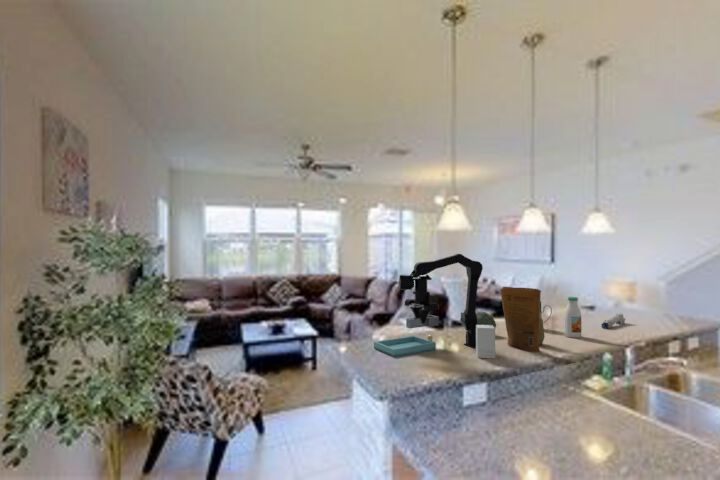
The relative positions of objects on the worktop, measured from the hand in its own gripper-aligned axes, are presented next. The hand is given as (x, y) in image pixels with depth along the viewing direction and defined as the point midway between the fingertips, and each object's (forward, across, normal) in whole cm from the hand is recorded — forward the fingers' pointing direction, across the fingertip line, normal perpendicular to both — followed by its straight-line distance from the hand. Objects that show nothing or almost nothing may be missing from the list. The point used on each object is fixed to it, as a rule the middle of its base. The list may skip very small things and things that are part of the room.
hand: (421, 323), depth 195 cm
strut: (+1, 0, 0) cm, 1 cm away
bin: (+11, +1, +9) cm, 14 cm away
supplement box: (+11, -26, -14) cm, 32 cm away
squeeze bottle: (+11, -24, -49) cm, 56 cm away
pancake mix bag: (+11, -26, -37) cm, 47 cm away
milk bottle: (+11, -24, -78) cm, 82 cm away
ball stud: (+11, +4, -8) cm, 14 cm away
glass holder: (+11, -4, -78) cm, 79 cm away
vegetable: (+11, +4, -44) cm, 46 cm away
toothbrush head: (+12, -20, -122) cm, 124 cm away
